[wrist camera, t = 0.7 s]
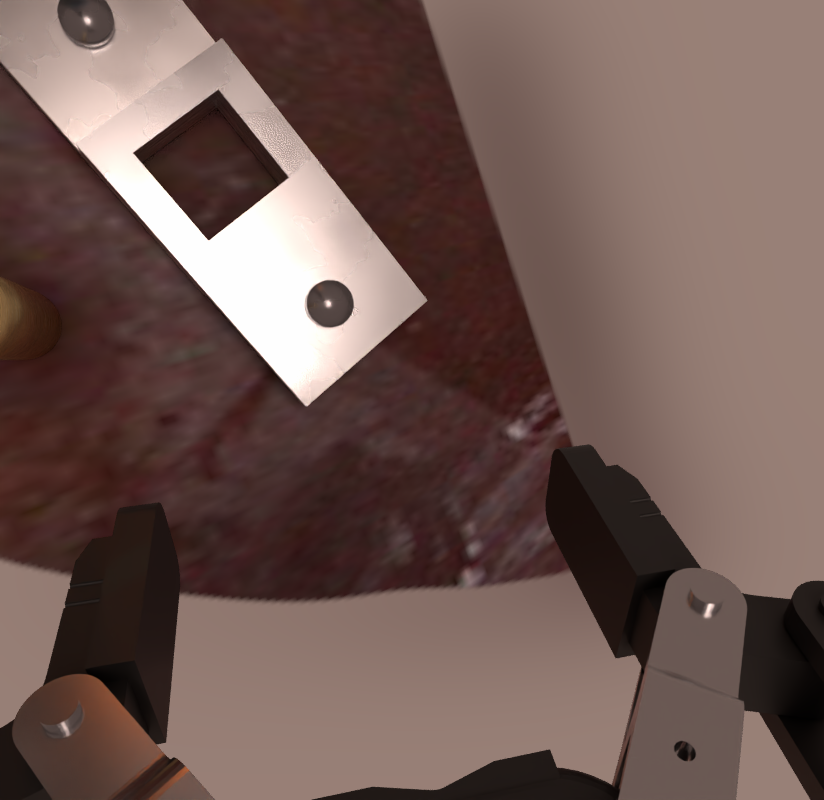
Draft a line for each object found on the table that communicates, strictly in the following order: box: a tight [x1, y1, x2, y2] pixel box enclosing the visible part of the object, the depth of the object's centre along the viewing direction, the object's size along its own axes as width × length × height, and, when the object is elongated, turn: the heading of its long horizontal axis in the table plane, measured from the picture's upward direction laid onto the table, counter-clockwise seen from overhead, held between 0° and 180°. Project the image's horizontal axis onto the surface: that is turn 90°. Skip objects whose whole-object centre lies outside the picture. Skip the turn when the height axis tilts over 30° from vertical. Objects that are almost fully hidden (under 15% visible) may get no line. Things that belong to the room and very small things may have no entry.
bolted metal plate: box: [0, 0, 427, 407], centre depth 32 cm, size 22×8×3 cm, turn 40°
